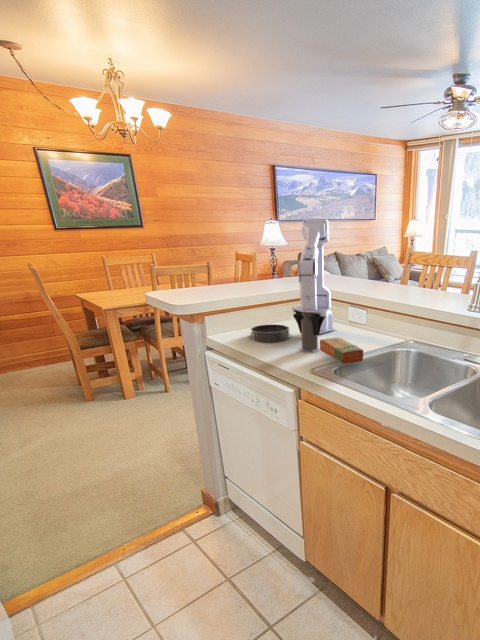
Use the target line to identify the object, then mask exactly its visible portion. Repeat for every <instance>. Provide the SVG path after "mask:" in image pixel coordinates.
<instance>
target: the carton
mask: <svg viewBox="0 0 480 640" xmlns="http://www.w3.org/2000/svg"><path fill="white" fill-rule="evenodd" d="M319 351H320V352H322V353H323V354H325V355H327V356H329V357H330V358H332V359H333V360H334V361H336V362H338V363H339V364H341V365H346V364H352V363H353V364H354V363H359V362H363V360H364V349H362V348H361V347H358V346H357V345H354V344H353V343H351V342H349V341H347V340H345V339H343V338H341V336H340V337H330V338H323V339H320V340H319Z"/></svg>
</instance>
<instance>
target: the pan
mask: <svg viewBox="0 0 480 640" xmlns="http://www.w3.org/2000/svg"><path fill="white" fill-rule="evenodd" d="M290 334H291V333H290V327H289V326H287V325H283V324H260V325H256V326H253V327H251V328H250V338H251V340H253V341H255V342H258V343H266V344H267V343H269V344H270V343H272V344H273V343H281V342H285V341H287V340H289V339H290V337H291V336H290Z"/></svg>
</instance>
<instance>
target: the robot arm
mask: <svg viewBox="0 0 480 640" xmlns="http://www.w3.org/2000/svg"><path fill="white" fill-rule="evenodd" d="M301 234H302V236H303V238H304V240H305V242H306V244H304V245H303V247H302V250H301V255H300V261H297V266H296V270H297V277H298V284H299V299H300V306H299V305H294V306H291V311H292V313H293V315H292V316H293V318H294V320H295V321H296V323H297V326H298V331H299V333H300V334H302V332H301V319H302V318H304V316H303V315H302V312H312V313H314V315H315V316H311V320H312V324H313V333H314V336H317V335H318V336H319V335H321V334H325V333H328V332H332V331H335V328H334V323H333V321H334V320H333V319H334V316H333V313H332V311H331V310H330V309H331V307H332V296H331V295H332V294H331V291H330V289H329V288H328V287H326V286H325V279H324V278H325V277H324V267H325V266H324V247H325V244H327V243H329V241H330V223H329V220H328V219H326V218H325V219H306V218H305V219H303V220H302V221H301ZM309 309H311V310H309Z"/></svg>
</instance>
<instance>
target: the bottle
mask: <svg viewBox="0 0 480 640" xmlns="http://www.w3.org/2000/svg"><path fill="white" fill-rule="evenodd" d="M309 310H311V309H309ZM302 315H303V316H304V318H302V319H301V332H302V333H301V348H302V349H303V350H305V351H314V350H317V349H319V347H318V346H319V344H318V343H319V337H318V336H319V335H317V336H314V333H313V324H312V320H311V316H315V315H314V313H312V312H302Z"/></svg>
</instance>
